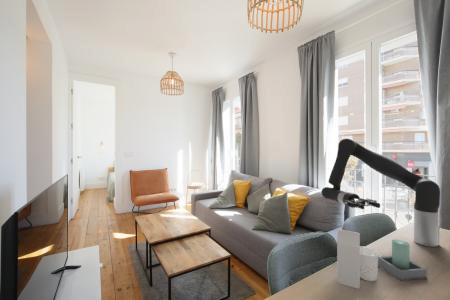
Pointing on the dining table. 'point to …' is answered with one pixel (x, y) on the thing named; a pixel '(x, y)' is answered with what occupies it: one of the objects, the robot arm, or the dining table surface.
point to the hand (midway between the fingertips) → (371, 206)
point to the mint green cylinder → (401, 254)
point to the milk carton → (348, 258)
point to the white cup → (368, 263)
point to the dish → (402, 275)
